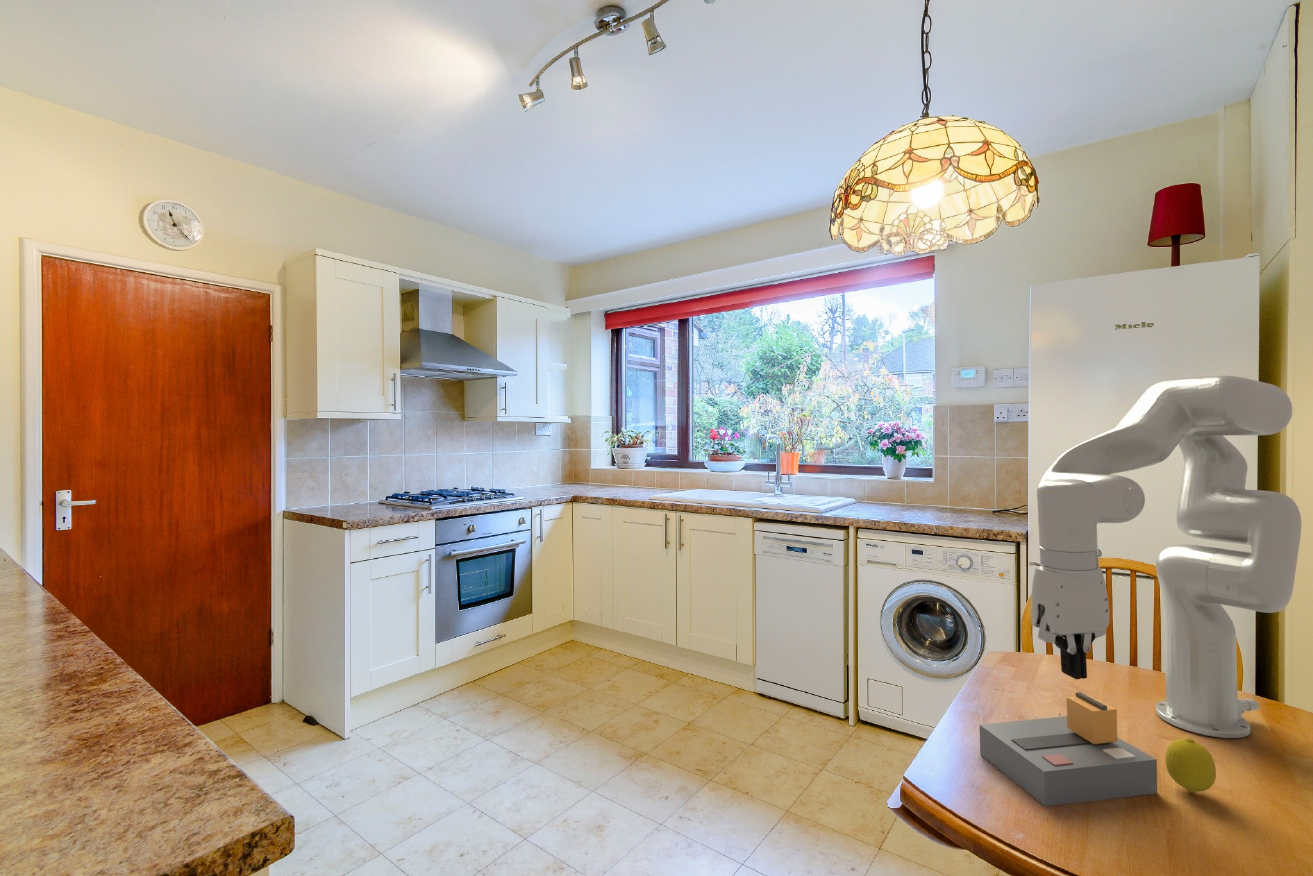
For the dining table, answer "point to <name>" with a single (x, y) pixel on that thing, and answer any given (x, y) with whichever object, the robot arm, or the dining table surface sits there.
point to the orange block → (1091, 719)
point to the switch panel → (1066, 762)
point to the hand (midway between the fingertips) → (1074, 675)
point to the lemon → (1190, 765)
